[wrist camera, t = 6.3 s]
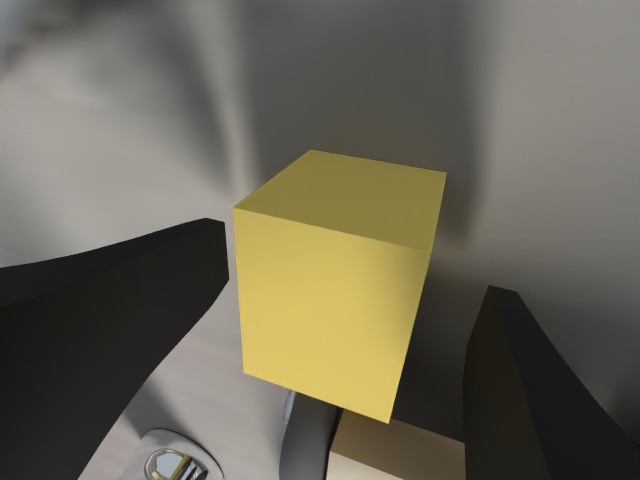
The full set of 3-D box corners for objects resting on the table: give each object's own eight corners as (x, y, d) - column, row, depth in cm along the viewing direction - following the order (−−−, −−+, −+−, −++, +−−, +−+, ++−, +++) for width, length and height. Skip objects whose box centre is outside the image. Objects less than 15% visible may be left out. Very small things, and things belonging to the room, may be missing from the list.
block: (413, 310, 13) (388, 423, 9) (304, 281, 14) (243, 372, 10) (447, 171, 10) (431, 253, 7) (311, 148, 11) (233, 207, 8)
